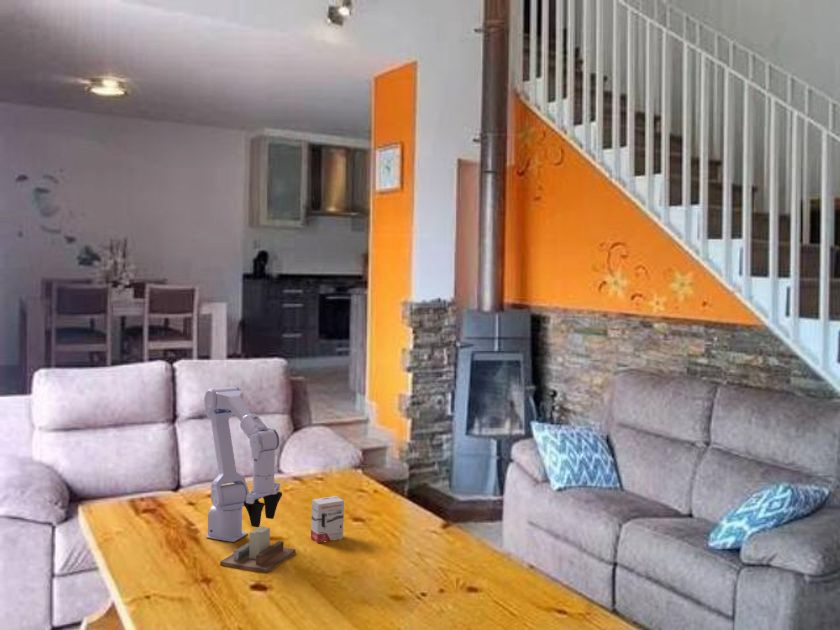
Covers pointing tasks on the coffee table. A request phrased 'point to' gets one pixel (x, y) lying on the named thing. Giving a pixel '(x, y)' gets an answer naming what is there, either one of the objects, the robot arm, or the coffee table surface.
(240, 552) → the grey bar
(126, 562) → the coffee table surface
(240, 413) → the robot arm
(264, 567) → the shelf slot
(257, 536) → the white rectangular block
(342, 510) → the ink box
